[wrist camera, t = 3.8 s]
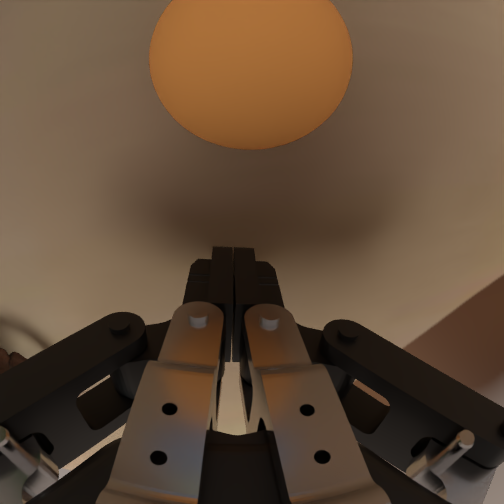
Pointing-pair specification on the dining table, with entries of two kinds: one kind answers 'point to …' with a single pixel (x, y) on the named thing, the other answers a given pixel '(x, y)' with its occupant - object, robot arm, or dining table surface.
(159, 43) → the ball
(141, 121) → the dining table surface
